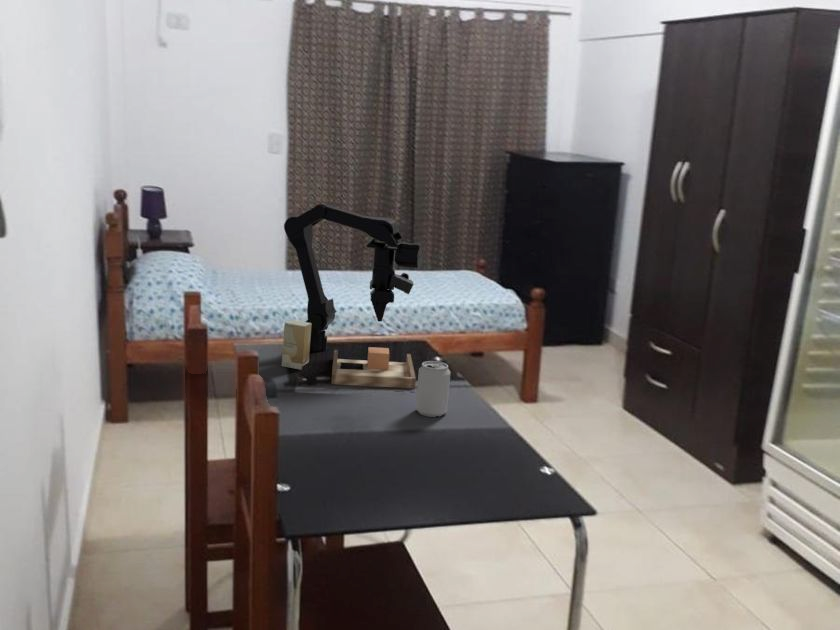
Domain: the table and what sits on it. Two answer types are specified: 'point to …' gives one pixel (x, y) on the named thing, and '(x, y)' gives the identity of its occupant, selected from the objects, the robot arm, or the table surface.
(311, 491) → the table surface
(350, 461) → the table surface
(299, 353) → the skincare box
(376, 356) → the rust block
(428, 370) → the can
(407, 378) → the tray
